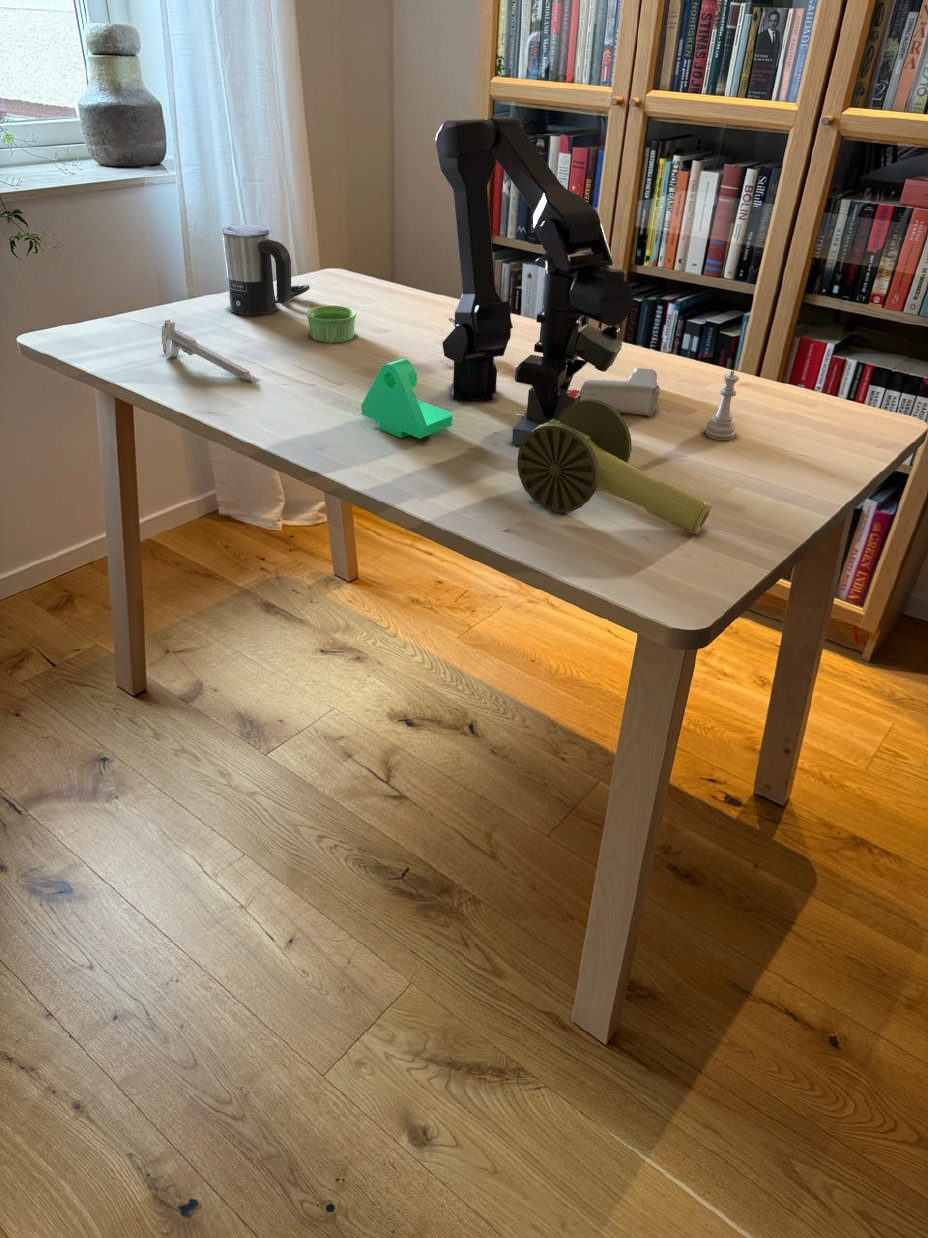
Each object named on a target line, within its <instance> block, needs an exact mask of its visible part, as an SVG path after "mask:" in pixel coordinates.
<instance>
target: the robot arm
mask: <svg viewBox="0 0 928 1238" xmlns="http://www.w3.org/2000/svg"><path fill="white" fill-rule="evenodd" d="M435 149H436V154H437V158H438V162H439V169H440V172H441V173H442V175H443V176H444V178H445V179H446V181H447V182H448V184H449V185H450V188H451V189H452V191H453V199H454V200H453V201H454V212H455V222H456V233H457V243H458V254H459V255H458V256H459V264H460V277H461V287H462V294H461V297H460V299H459V301H458V304H457V306H456V309H455V310H454V311H455V312H454V320H455V325H454V329H453V330H452V331H451V332H450V333H449V334H448V335H447V336H446V337H445V338H444V340H443V341H442V343H441V344H442V345H441V346H442V351H443V356H444V357H445V358H447V359H449V360H451V361H453V375H452V383H451V396H452V400H455V401H457V400H458V401H487V402H489V401H490V402H491V401H492V402H493V400H494V394H496V393H497V378H498V366H497V364H496V363H495V358H497V357H504V355H505V353H506V349H507V347H508V344H509V341H510V340H511V336H512V329H513V328H514V325H513V322H512V318H511V316H512V315H511V312H512V308H511V307H512V306H511V304H510V302H509V300H503V299H502V297H501V295H500V294H499V292H497V289H496V280H495V278H496V277H495V266H494V254H493V241H492V229H491V219H490V218H491V217H490V206H489V205H490V204H489V192H488V185H489V183H490V180H491V178H492V176H493V173H494V171H495V168H496V166H497V163H499V165H500V166H501V168H502V169H503V171H504V172H505V174H506V175H507V176H508V178H509V179H510V181H511V183H512V184H513V185H514V186H515V188H516V189H517V191H518V192H519V193H520V195H521V197H522V198H523V199H524V202H526V204H527V206H528V207H529V208H530V210H531V212H532V214H533V231H534V232H535V234H536V237H537V238H538V240H539V242H540V244H541V246H542V248H543V250H544V253H543V254H541V256H539V257H538V258H537V259H535V265H536V266H538V267H541V268H544V269H545V271H544V283H543V293H542V305H541V311H540V312H539V313H537V314H536V321H535V322H536V323H539V324H540V327H539V328H540V330H539V340H538V341H537V342H536V343H535V344H534V347H533V352H534V353H538V354H539V353H540V354H542V356H541V355H537V354H536V355H535V354H530V355H528V356H527V357H526V358H525V359H523V360H522V361H521V362H520V363H519V364H517V365H516V366H515V367H514V368H515V369H514V381H515V383H518V384H523V385H529V386H531V388H532V387H533V389H534V391H535V393H536V396H537V398H538V401H539V403H540V406H541V409H542V411H543V414H544V416H545V418H548V419H552V418H553V415H554V412H555V409H556V405H557V401H558V397H559V393H560V389H566V390H569V388H570V385H571V382H572V381H573V378H574V375H576V373H578V372H579V371H580V370H581V369H583V367H585V366H586V365H587V364H590V365H592V366H594V369H596V370H597V371H600V372H603V373H604V372H607V371H608V370H609V368H610V367H612V366H613V364H614V363H615V360H616V359H617V356H618V354H619V353H620V351H621V350H622V348H623V342H624V341H623V340H621V327H619V326H618V325H620V324H622V323H623V322H624V321H625V320H626V319H627V317H628V316H629V314H630V312H631V310H632V308H633V304H634V296H633V290H632V288H631V286H630V284H629V283H628V282H627V281H625V278H626V277H625V275H626V272H625V270H623V269H620V268H612V266H613V264H614V262H613V258H612V255H611V249H610V247H609V245H608V243H607V239H606V235H605V233H604V230H603V226H602V220H601V217H600V215H599V213H598V211H597V210H596V209H595V208H594V207H593V206H592V205H591V204H590V203H589V202H588V201H587V200H586V199H585V198H584V197H582V196H581V195H580V194H576V193H575V192H572V191H571V190H569V189H567V188H566V187H565V186H564V185H563V184H562V183H561V182H560V180H559V179H558V177H557V176H556V175H555V173H554V172H553V170H552V169H551V168H550V166H549V165H548V163H547V161H546V160H545V159H544V158H543V156H542V155H541V154H540V153H539V151H538V149H537V148H536V147H535V145H534V144H533V143H532V141H531V139H530V138H529V137H528V136H527V134H526V133H525V130H524V125H523V124H522V121H521V120H520V119H519V118H516V117H514V116H499V117H497V116H496V117H495V116H493V117H489V118H488V119H485V118H475V119H474V118H471V119H470V118H469V119H451V120H450V119H448V120H446V121H444V122H443V123H442V125H441V126H440V128H439V130H438V131H437V133H436V136H435ZM590 252H591V253H590ZM585 253H588V254H585ZM578 254H581V255H578ZM570 255H571V256H570ZM572 255H573V256H572ZM575 255H576V256H575ZM590 320H593V321H595V322H598V323H601V324H602V325H605V326H606V327H605V328H603V329H602V330H601V327H599V326H598V327H594V326H591V325H590Z"/></svg>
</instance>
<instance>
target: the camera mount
mask: <svg viewBox="0 0 928 1238" xmlns="http://www.w3.org/2000/svg"><path fill="white" fill-rule="evenodd" d="M417 382H418V375H417V370H416V369H415V366H414V365H413V363H412V362H410V360H408V359H407V358H406V359H405V358H401V359H398V360H394V361H392V362H388V363H385V364H383V365H381V367H380V368H379V370H378V372H377V374H376V376H375V378H374V379H373V382H372V384H371V386H370V388H369V389H368V392H367V393H366V396H365V398H364V399H363V401H362V403H361V405H360V406H361V407H360V408H361V415H362V416H364V417H367V418H369V419H371V420H374V421H376V422H378V430H381V431H384V432H386V433H388V434H391V435H393V436H394V437H395V436H396V437H398V438H400V439H403V438H405V437H408V436H412V437H415V438H417V439H423V438H424V437H427V436H429V435H432V434H434V433H436V432H440V431H442V430H445V429H447V428H449V427H452V426H453V422H454V421H453V419H454V418H453V417H454V414H453V413H452V412H451V411H448V410H445V409H443V408H440V407H437V406H435V405H432V404H431V403H427V402H424V401H422V400H420V399H418V398H417V396H416V393H415V390H414V388H415V387H416V385H417Z"/></svg>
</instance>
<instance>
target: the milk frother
mask: <svg viewBox="0 0 928 1238" xmlns="http://www.w3.org/2000/svg"><path fill="white" fill-rule="evenodd" d="M220 233H221V235H222V241H223V251H224V259H225V266H226V267H225V268H226V275H227V284H228V296H229V306H228V309H229V311H230V312H232V313H235V314H238V315H245V316H246V315H247V316H248V315H249V316H258V315H265V314H269V313H273V312H274V311H276V310H277V307H278V306H277V304H286V303H288V302H289V301H291V300H293V299H294V298H295V297H298V296H300V295H302V294H305V293H306V292H307V291H309V290H310V288H311V287H310V285H309V284H303V285H298V284H296V285H295V284H293V285H292V259H291V258H292V257H291V255H290V252H289V250H288V249H287V248H286V246H285V245H284V244H283V243H281V242H280V241H277V240H274V239H273V240H272V239H270V233H271V229H270V228H269V227H267V226H262V225H250V224H247V225H246V224H245V225H244V224H241V225H232V226H228V227H223V228H222V229H221V230H220ZM272 257H273V259H274V263H275V279H276V280H275V281H276V282H275V283H276V284H275V285H276V295H275V287H274V286H275V285H274V273H273V261H272Z"/></svg>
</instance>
